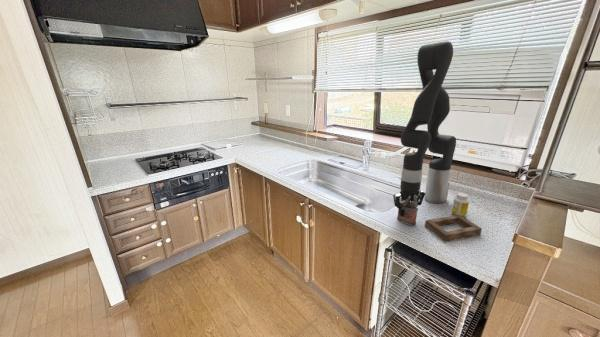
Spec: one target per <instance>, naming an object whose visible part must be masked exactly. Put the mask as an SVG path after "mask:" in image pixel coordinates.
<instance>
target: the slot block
mask: <svg viewBox="0 0 600 337" xmlns="http://www.w3.org/2000/svg"><path fill="white" fill-rule="evenodd" d="M452 225H458V226H460V227H461V228H459V229H458V228H457V229H454V230H453V229H452V230H448V231H447V230H445V229H444V228H442V227H446V226H452ZM424 227H425V228H426V229H428V230H429V231H430V232H432V233H433V234H434V235H435V236H437V238H440V239H441V240H442V241H443V242H444V243H447V242H453V241H457V240H458V241H459V240H462V239H463V240H464V239H467V238H473V237H476V236H477V237H478V236H481V234H482V229H483V228H482V227H480V226H478V225H477V224H475V223H474V222H472V221H471V220H469V219H467V218H466V217H462V216H460V215H459V214H458V215H448V216H443V217H438V218H431V219H426V220H425V223H424Z"/></svg>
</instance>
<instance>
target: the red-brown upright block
mask: <svg viewBox="0 0 600 337" xmlns="http://www.w3.org/2000/svg"><path fill="white" fill-rule="evenodd" d="M403 201H404V200H403ZM404 202H405V201H404ZM402 205H403V204H402ZM416 206H417V204H416V203H414V202H411V201H409V202H408V203H407V205H406V206H405V208H404V209H405V210H404V217H401V216H400V215H399V209H398V208H397V209H398V210H397V217H396V220H397V221H399V222H401V223H404V224H406V225H409V226H416V225H417V215H418V211H419V208H418V206H417V208H416Z"/></svg>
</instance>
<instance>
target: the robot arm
mask: <svg viewBox="0 0 600 337" xmlns="http://www.w3.org/2000/svg"><path fill="white" fill-rule="evenodd" d="M453 56H454V47H453V43H452V42H451V41H448V40H447V41H440V42H433V43H427V44H423V45H422V46H420V48H418V52H417V57H416V58H417V60H416V62H417V67H418V72H419V78H420V81H421V85H422V90H421V92H420V93H419V94H418V96H417V97H416V98H415V100H414V104H413V109H412V112H411V116H410V118H409V120H408V122H407V124H406V126H405V128H404V129H403V131H402V133H401V135H400V143H401V145H402V146H403V147H406V148H413V149H417V151H416V152H407V153H405V154H404V156H403V165H402V169H401V170H402V171H401V177H400V184H399V187H400V191H399V193H398V194H393V196H392V197H393V204H394V206H395V207H396V208H397V209H399V215H400V216H401V217H404V210H405V209H404V208H405V206H406V205H407V203H408V202H409V201H410V202H414V203H416V204H417V206H416V208H418V206H421V205H422V204H423V201H424V199H425V201H427V202H429V203H432V204H443V203H446V202H445V201H447V200H448V195H449V189H450V182H449V179H450V173H451V168H452V163H453V159H454V155H455V154H454V153H455V150H456V146H457V138H456V137H455V136H454V135H450V134H448V135H447V134H440V133H439V128H440V126H441V124H442V123H443V122H444V121H445V120H446V118H447V117H448V116H449V113H450V108H451V106H450V104H451V103H450V95H449V94H448V92H447V90H446V89H445V88H444V87H443V84H444V81H445V79H446V76H447V73H448V71H449V69H450V66H451V63H452V62H453V61H452V59H453ZM433 70H435V71H433ZM425 125H426V127H427V130H423V129H422V130H420V129H418V127H419V126H425ZM427 150H428V151H429V152H430V153H432V154H435V155H436V154H437V155H442V158H435V159H431V160H430V161H429V163H428V170H427V176H426V184H425V191H423V190H421V184H422V178H423V164H424V159H425V156H426V153H427ZM403 200H404V201H405V202H404V201H403ZM402 204H403V205H402Z"/></svg>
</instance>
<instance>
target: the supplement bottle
mask: <svg viewBox="0 0 600 337" xmlns="http://www.w3.org/2000/svg"><path fill="white" fill-rule="evenodd" d="M468 197H469V195H468V194H466V193H464V192H458V193H457V194H456V196H455V197H453V202H452V203H453V204H452V209H451V214H452V215H451V216H453V215H458V214H459V215H460V216H462V217H464V218H466V217H467V213H468V208H469V203H470V199H469V198H468Z"/></svg>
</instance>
